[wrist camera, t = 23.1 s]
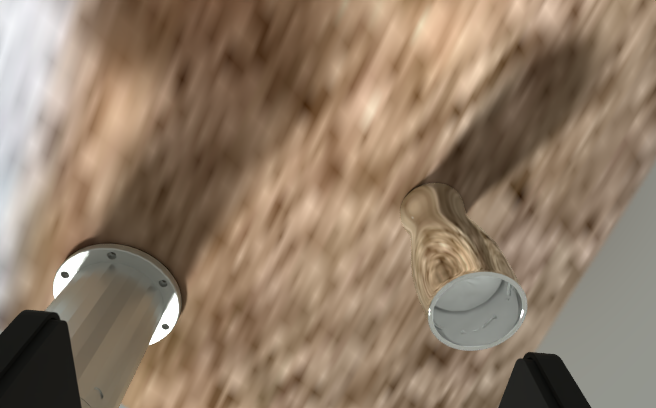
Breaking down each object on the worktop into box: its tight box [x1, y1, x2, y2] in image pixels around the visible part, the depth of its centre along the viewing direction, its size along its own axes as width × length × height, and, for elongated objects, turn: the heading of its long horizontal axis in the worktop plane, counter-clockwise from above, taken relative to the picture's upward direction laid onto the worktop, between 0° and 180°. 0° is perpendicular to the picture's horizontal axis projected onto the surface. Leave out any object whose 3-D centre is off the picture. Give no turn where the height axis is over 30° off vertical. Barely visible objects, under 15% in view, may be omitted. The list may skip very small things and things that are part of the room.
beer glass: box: [400, 183, 527, 351], centre depth 38 cm, size 7×7×15 cm
